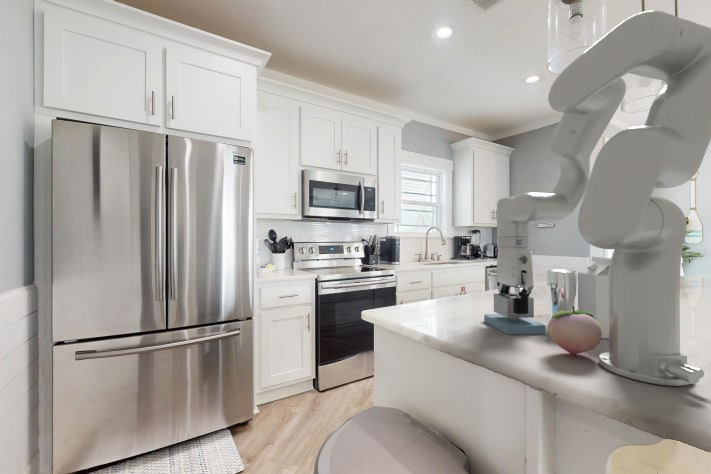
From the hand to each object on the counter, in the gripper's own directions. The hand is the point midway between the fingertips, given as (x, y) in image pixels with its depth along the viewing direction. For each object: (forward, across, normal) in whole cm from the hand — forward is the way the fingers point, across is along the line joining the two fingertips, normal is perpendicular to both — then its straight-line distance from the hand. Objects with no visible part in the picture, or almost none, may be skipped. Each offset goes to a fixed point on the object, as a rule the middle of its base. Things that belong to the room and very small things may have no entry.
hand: (513, 309), depth 84 cm
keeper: (+5, 0, 0) cm, 5 cm away
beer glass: (+5, -1, -13) cm, 14 cm away
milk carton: (+5, -8, -18) cm, 20 cm away
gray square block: (+1, 0, 0) cm, 1 cm away
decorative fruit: (+5, -20, -2) cm, 21 cm away
